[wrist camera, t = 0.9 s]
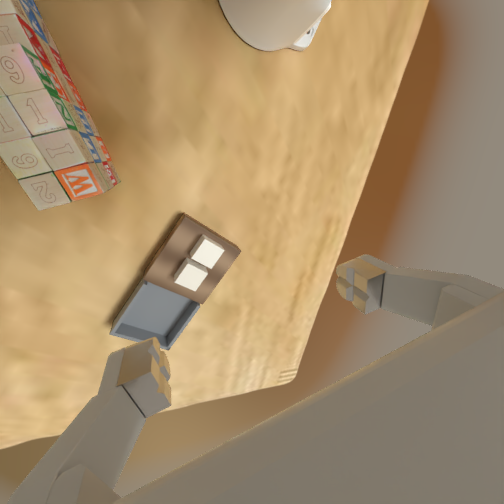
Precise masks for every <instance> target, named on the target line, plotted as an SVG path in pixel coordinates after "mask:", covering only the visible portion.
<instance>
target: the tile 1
mask: <svg viewBox="0 0 504 504" xmlns="http://www.w3.org/2000/svg"><path fill="white" fill-rule="evenodd" d="M207 274H208V272H207V269H206V267H204V266H202V265H200V264H198V263H196V262H195V261H193V260H191V259H189V258H187V257H186V259H185V260H184V262H183V263H182V265H181V266H180V268H179V269H178V270H177V272H176V273H175V275H174V281H175V283H177V284H179V285H181V286H184V287H186V288H188V289H191V290H193V291H196V290H197V288H198V287H199V286H200V284H201V283H202V281H203V280H204V279H205V277H206V276H207Z"/></svg>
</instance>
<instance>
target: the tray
mask: <svg viewBox="0 0 504 504" xmlns="http://www.w3.org/2000/svg"><path fill="white" fill-rule="evenodd" d="M199 308H200V304H199V303H198V302H196V301H193V300H191V299H188V298H186V297H183V296H181V295H179V294H176V293H174V292H171V291H169V290H167V289H164V288H162V287H159V286H157V285H154V284H152V283H150V282H147V281H145V280H143V278H142V280H141V281H140V283H139V284H138V286H137V287H136V289H135V290H134V292H133V293H132V295H131V296H130V298H129V299H128V300H127V302H126V303H125V305H124V306H123V308H122V309H121V311H120V312H119V314H118V315H117V317H116V318H115V320H114V321H113V324H112V328H111V331H110V335H113V336H117V337H121V338H125V339H128V340H132V341H136V342H141V341H144V340H147V339H149V338H152V337H156V338H157V339H158V341H159V343H160V348H162V349H166V350H169V349H170V348H171V346H172V345H173V344H174V342H175V341H176V339H177V338H178V337H179V335H180V334H181V333H182V331H183V330H184V328H185V327H186V326H187V324H188V323H189V322H190V320H191V319H192V317H193V316H194V315H195V313H196V312H197V311H198V309H199Z"/></svg>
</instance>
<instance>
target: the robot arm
mask: <svg viewBox="0 0 504 504" xmlns="http://www.w3.org/2000/svg"><path fill="white" fill-rule="evenodd" d="M331 1H332V0H219V2H220V5H221V7H222V10H223V12H224V14H225V16H226V18H227V20H228V22H229V23H230V25H231V26H232V28H233V29H234V30H235V32H236V33H237V34H238V35H239V36H240V37H241V38H242V39H243V40H244V41H245V42H247V43H248V44H249V45H251V46H253V47H255V48H257V49H260V50H264V51H275V50H279V49H283V48H291V49H294V50H298V51H303V50H305V49H306V48H307V47H308V46H309V45H310V43H311V41H312V38H313V36H314V34H315V32H316V30H317V27H318V25H319V23H320V21H321V19H322V17H323V16H324V15H325V14H326V13H327V11H328V10H329V9H330V7H331ZM307 32H308V34H307ZM336 273H337V275H338V276H339V278H338V279H337V289H338V292H339V293H340V295H341V296H342V297H343V298H344V299H346V300H349V301H353V305H354V306H355V307H356V308H357V309H359V310H360V311H361V312H362V313H364V314H367V313H370V312H372V311H374V310H377V309H379V308H382V309H384V310H387V311H390V312H393V313H396V314H399V315H401V316H404V317H407V318H410V319H414V320H416V321H419V322H422V323H425V324H428V325H431V326H432V330H431V331H429V332H428V333H426V334H424V335H422V336H420V337H418V338H417V339H415V340H413V341H411V342H409V343H407V344H405V345H404V346H402V347H400V348H398V349H396V350H394V351H393V352H391V353H389V354H387V355H385V356H383V357H381V358H380V359H378V360H376V361H374V362H372V363H371V364H369V365H367V366H365V367H363V368H361V369H359V370H357V371H356V372H354V373H352V374H350V375H348V376H346V377H345V378H343V379H341V380H339V381H337V382H335V383H334V384H332V385H330V386H328V387H326V388H324V389H323V390H320V391H319V392H317V393H315V394H313V395H311V396H309V397H308V398H306V399H304V400H302V401H300V402H298V403H297V404H295V405H293V406H291V407H289V408H287V409H285V410H284V411H282V412H280V413H278V414H276V415H274V416H272V417H271V418H269V419H267V420H265V421H263V422H262V423H259V424H258V425H256V426H254V427H252V428H250V429H248V430H247V431H245V432H243V433H241V434H239V435H237V436H235V437H234V438H232V439H230V440H228V441H226V442H224V443H223V444H221V445H219V446H217V447H215V448H213V449H212V450H210V451H208V452H206V453H204V454H202V455H200V456H198V457H197V458H195V459H193V460H191V461H189V462H187V463H185V464H184V465H182V466H180V467H178V468H176V469H174V470H173V471H171V472H169V473H167V474H165V475H163V476H161V477H160V478H158V479H156V480H154V481H152V482H150V483H149V484H147V485H145V486H143V487H141V488H139V489H138V490H136V491H134V492H132V493H130V494H128V495H126V496H125V497H123V498H121V497H120V496H119V495H118V494H116V493H115V492H114V491H113V489H114V487H115V484H116V483H117V481H118V479H119V477H120V474H121V472H122V470H123V468H124V466H125V464H126V462H127V460H128V457H129V455H130V453H131V451H132V449H133V447H134V445H135V442H136V440H137V438H138V436H139V434H140V432H141V430H142V428H143V425H144V423H145V421H146V419H145V418H147V417H149V416H151V415H153V414H155V413H157V412H159V411H161V410H163V409H165V408H167V407H169V406H171V387H170V385H169V384H168V380H169V379H170V367H169V362H168V359H167V356H166V354H165V352H163V351H161V350H160V343H159V341H158V339H157V338H156V337H152V338H149V339H147V340H144V341H141V342H139V343H136V344H133V345H130V346H128V347H126V348H123V349H120V350H117V351H115V352H112V353H111V354H110V355H109V356H108V360H107V363H106V367H105V370H104V374H103V377H102V381H101V384H100V388H99V391H98V395H97V396H95V397H92V399H91V400H90V401H89V402H88V403H87V405H86V406H85V407H84V408H83V409H82V411H81V412H80V413H79V414H78V415H77V417H76V418H75V419H74V420H73V421H72V423H71V424H70V425H69V426H68V427H67V429H66V430H65V431H64V432H63V433H62V435H61V436H60V437H59V438H58V440H57V441H56V442H55V443H54V444H53V446H52V447H51V448H50V449H49V450H48V452H47V453H46V454H45V455H44V456H43V458H42V459H41V460H40V461H39V462H38V464H37V465H36V466H35V467H34V468H33V470H32V471H31V472H30V473H29V475H28V476H27V477H26V478H25V479H24V481H23V482H22V483H21V484H20V485H19V487H18V488H17V489H16V490H15V491H14V493H13V494H12V495H11V497H10V499H9V501H8V503H7V504H504V289H503V288H500V287H497V286H495V285H492V284H490V283H487V282H485V281H482V280H479V279H477V278H474V277H471V276H469V275H463V274H455V273H446V272H438V271H430V270H422V269H413V268H405V267H398V268H396V267H394V266H392V265H389V264H387V263H385V262H383V261H381V260H379V259H376V258H375V257H372V256H370V255H365V254H364V255H362V256H360V257H357V258H356V259H353V260H351V261H348V262H345V263H343V264H341V265H338V266H337V269H336Z"/></svg>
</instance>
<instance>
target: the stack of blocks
mask: <svg viewBox="0 0 504 504" xmlns="http://www.w3.org/2000/svg"><path fill="white" fill-rule="evenodd" d="M59 55H60V54H59V51H58V49H57V47H56V45H55V43H54V41H53V39H52V37H51V35H50V33H49V31H48V29H47V26H46V24H45V22H44V21H43V19H42V17H41V15H40V13H39V11H38V9H37V7H36V5H35V3H34V1H33V0H0V156H1V158H2V159H3V161H4V162H5V163H6V165H7V166H8V168H9V169H10V170H11V172H12V173H13V175H14V176H15V177H16V178H17V179H18V182H19V184H20V185H21V187H22V188H23V190H24V191H25V193H26V194H27V196H28V197H29V198H30V200H31V201H32V203H33V204H34V206H35V207H36V208H37V209H38V210H39V211H40V210H44V209H48V208H51V207H55V206H59V205H63V204H67V203H70V202H72V201H77V200H81V199H85V198H88V197H92V196H96V195H99V194H102V193H104V192H106V191H107V190H110V189H111V188H113V187H114V186H115V185H116V184H118V183H120V182H121V180H120V178H119V176H118V174H117V172H116V170H115V168H114V165H113V163H112V161H111V158H110V156H109V154H108V152H107V149H106V147H105V145H104V143H103V141H102V139H101V137H100V135H99V133H98V131H97V128H96V126H95V124H94V122H93V120H92V118H91V116H90V114H89V113H88V112H87V110H86V108H85V106H84V104H83V102H82V100H81V98H80V96H79V94H78V92H77V89H76V87H75V86H74V85H73V82H72V80H71V78H70V76H69V74H68V72H67V70H66V68H65V66H64V64H63V62H62V60H61V58H60V56H59Z"/></svg>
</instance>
